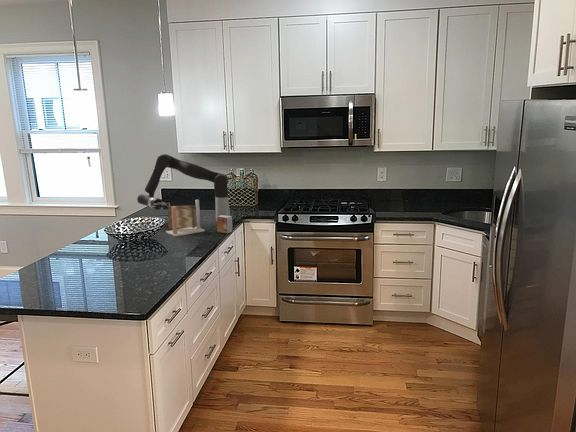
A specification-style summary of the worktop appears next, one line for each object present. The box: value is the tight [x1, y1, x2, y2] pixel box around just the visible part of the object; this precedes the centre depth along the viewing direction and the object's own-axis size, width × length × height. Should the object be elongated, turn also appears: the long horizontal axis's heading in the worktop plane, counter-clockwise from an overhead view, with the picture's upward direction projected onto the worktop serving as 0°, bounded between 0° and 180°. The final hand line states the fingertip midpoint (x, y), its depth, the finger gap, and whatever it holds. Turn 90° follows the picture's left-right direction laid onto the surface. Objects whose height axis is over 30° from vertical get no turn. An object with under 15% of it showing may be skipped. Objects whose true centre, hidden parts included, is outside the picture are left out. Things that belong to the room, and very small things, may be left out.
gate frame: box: [165, 199, 206, 237], centre depth 291 cm, size 21×13×20 cm, turn 132°
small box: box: [216, 215, 233, 234], centre depth 292 cm, size 8×6×10 cm
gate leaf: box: [167, 205, 196, 229], centre depth 295 cm, size 17×1×15 cm, turn 97°
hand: (167, 207), depth 298 cm, fingers closed
